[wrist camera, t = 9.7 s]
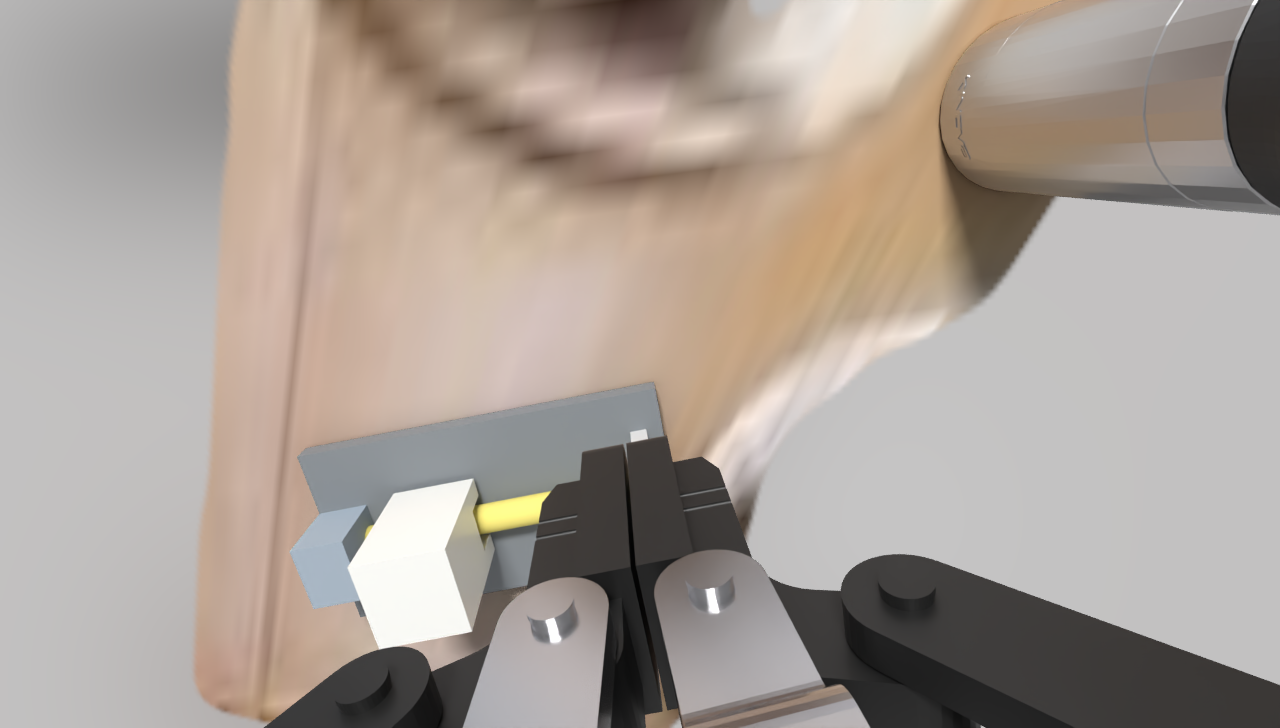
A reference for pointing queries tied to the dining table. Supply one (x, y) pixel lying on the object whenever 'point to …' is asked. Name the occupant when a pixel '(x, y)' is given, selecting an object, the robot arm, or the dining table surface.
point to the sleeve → (423, 565)
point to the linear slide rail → (454, 451)
